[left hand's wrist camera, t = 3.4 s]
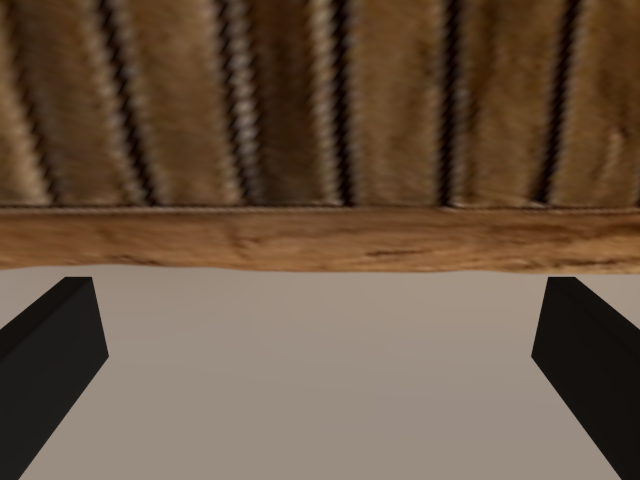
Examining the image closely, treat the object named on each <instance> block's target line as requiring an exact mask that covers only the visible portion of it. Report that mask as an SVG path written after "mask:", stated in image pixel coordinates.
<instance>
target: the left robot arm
mask: <svg viewBox="0 0 640 480" xmlns="http://www.w3.org/2000/svg"><path fill="white" fill-rule="evenodd" d="M108 357H109V355H108V350H107V345H106V341H105V336H104V331H103V327H102V322H101V317H100V313H99V308H98V303H97V299H96V294H95V289H94V285H93V280H92V277H64V278H63V279H62V280H61V281H60V282H58V283H57V284H56V285H55V286H53V287H52V288H51V289H50V290H48V291H47V292H46V293H45V294H43V295H42V296H41V297H40V298H39V299H37V300H36V301H35V302H34V303H32V304H31V305H30V306H29V307H27V308H26V309H25V310H24V311H23V312H21V313H20V314H19V315H18V316H16V317H15V318H14V319H13V320H12V321H10V322H9V323H8V324H7V325H5V326H4V327H3V328H2V329H0V480H18V479H19V478H20V477H21V475H22V474H23V473H24V471H25V470H26V469H27V467H28V466H29V464H30V463H31V462H32V460H33V459H34V458H35V456H36V455H37V454H38V452H39V451H40V450H41V448H42V447H43V446H44V444H45V443H46V441H47V440H48V439H49V437H50V436H51V435H52V433H53V432H54V431H55V429H56V428H57V426H58V425H59V424H60V422H61V421H62V420H63V418H64V417H65V416H66V414H67V413H68V412H69V410H70V409H71V407H72V406H73V405H74V403H75V402H76V401H77V399H78V398H79V397H80V395H81V394H82V392H83V391H84V390H85V388H86V387H87V386H88V384H89V383H90V382H91V380H92V379H93V378H94V376H95V375H96V373H97V372H98V371H99V369H100V368H101V367H102V365H103V364H104V363H105V361H106V360H107V358H108ZM531 357H532V358H533V360H534V361H535V363H536V364H537V365H538V367H539V368H540V369H541V371H542V372H543V373H544V375H545V376H546V378H547V379H548V380H549V382H550V383H551V384H552V386H553V387H554V388H555V390H556V391H557V392H558V394H559V395H560V397H561V398H562V399H563V401H564V402H565V403H566V405H567V406H568V407H569V409H570V410H571V411H572V413H573V414H574V416H575V417H576V418H577V420H578V421H579V422H580V424H581V425H582V426H583V428H584V429H585V431H586V432H587V433H588V435H589V436H590V437H591V439H592V440H593V441H594V443H595V444H596V446H597V447H598V448H599V450H600V451H601V452H602V454H603V455H604V456H605V458H606V459H607V460H608V462H609V463H610V464H611V466H612V467H613V469H614V470H615V471H616V473H617V474H618V475H619V477H620V478H621V480H640V329H638V328H637V327H636V326H635V325H633V324H632V323H631V322H630V321H629V320H627V319H626V318H625V317H624V316H622V315H621V314H620V313H619V312H617V311H616V310H615V309H614V308H613V307H611V306H610V305H609V304H608V303H606V302H605V301H604V300H603V299H601V298H600V297H599V296H598V295H597V294H595V293H594V292H593V291H592V290H590V289H589V288H588V287H587V286H585V285H584V284H583V283H582V282H581V281H579V280H578V279H577V278H576V277H548V280H547V285H546V289H545V294H544V299H543V303H542V308H541V313H540V317H539V322H538V327H537V331H536V336H535V341H534V345H533V350H532V355H531Z"/></svg>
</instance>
